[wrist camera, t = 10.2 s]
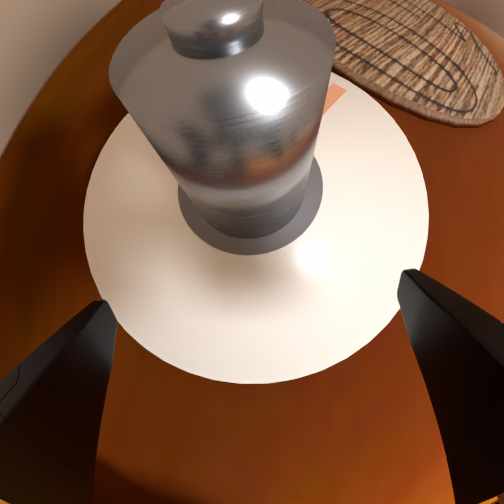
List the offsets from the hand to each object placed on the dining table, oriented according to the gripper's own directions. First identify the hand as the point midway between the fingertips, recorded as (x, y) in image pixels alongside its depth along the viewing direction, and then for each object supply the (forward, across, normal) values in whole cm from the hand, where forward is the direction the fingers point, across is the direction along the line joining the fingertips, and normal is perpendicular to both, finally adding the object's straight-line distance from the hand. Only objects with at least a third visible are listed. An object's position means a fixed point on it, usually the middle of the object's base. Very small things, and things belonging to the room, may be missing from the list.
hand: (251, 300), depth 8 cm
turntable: (+11, 0, +2) cm, 11 cm away
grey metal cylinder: (+9, 0, 0) cm, 9 cm away
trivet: (+24, -18, -11) cm, 32 cm away
